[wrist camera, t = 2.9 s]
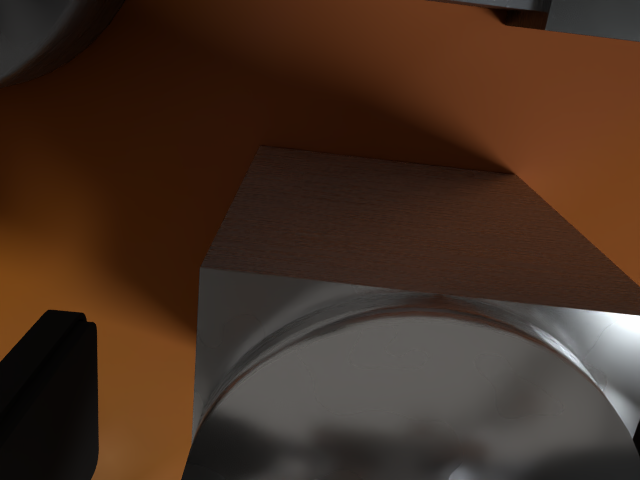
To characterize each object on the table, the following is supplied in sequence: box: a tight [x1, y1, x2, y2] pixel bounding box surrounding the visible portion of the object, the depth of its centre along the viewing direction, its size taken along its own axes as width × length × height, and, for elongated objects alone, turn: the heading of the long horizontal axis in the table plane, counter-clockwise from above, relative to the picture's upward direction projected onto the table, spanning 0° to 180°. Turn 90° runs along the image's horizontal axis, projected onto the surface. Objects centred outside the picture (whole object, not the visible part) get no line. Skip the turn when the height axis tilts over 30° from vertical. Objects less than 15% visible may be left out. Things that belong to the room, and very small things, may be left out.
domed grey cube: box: [181, 146, 640, 480], centre depth 12 cm, size 6×6×8 cm
